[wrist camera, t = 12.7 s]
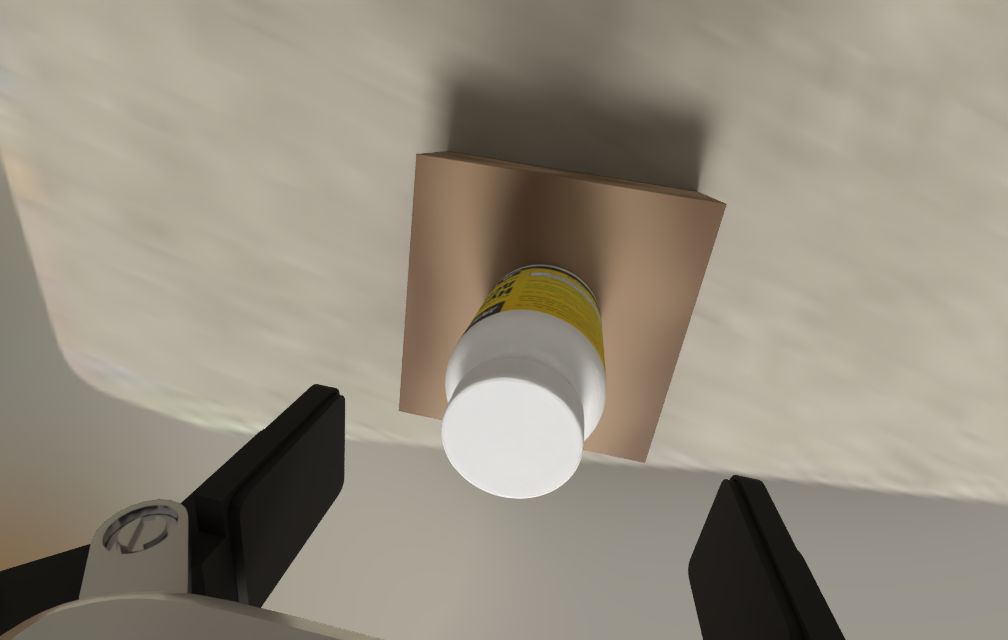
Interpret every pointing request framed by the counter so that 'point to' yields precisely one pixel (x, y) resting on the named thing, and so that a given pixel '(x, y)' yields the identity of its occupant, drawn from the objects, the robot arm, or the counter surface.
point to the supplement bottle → (526, 384)
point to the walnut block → (565, 244)
